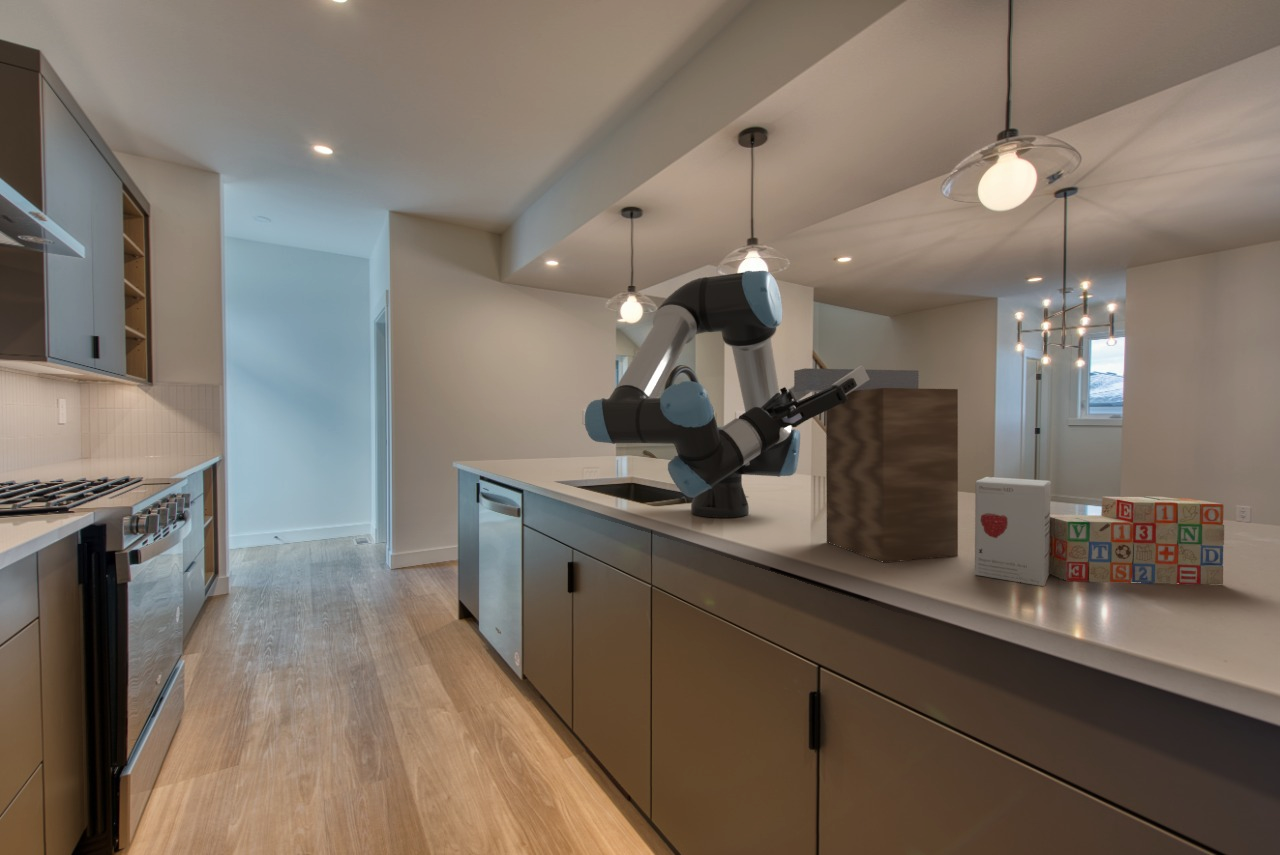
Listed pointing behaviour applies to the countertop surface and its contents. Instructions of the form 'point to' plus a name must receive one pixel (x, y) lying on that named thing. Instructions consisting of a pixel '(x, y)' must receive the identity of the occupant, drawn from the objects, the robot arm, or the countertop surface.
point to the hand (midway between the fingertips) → (839, 375)
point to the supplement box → (1012, 529)
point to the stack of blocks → (1140, 542)
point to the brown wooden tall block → (894, 473)
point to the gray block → (826, 377)
